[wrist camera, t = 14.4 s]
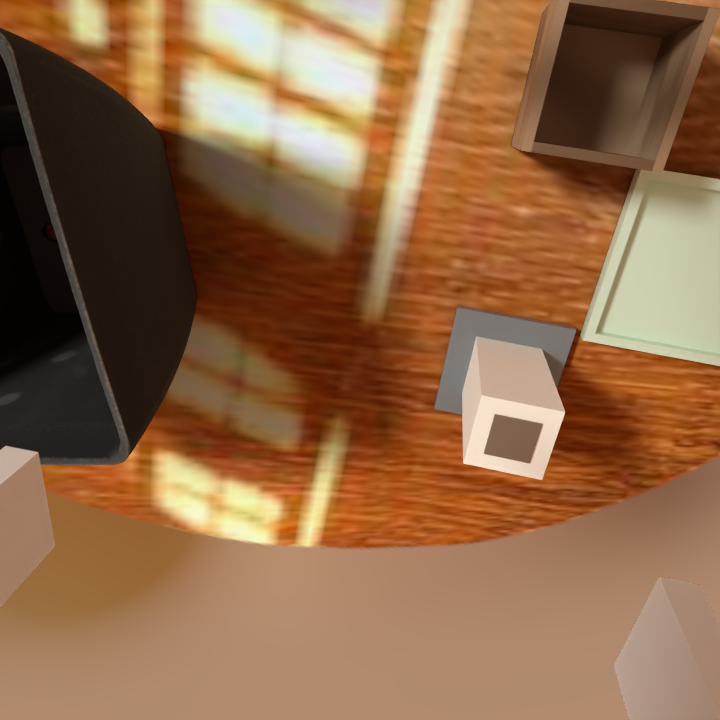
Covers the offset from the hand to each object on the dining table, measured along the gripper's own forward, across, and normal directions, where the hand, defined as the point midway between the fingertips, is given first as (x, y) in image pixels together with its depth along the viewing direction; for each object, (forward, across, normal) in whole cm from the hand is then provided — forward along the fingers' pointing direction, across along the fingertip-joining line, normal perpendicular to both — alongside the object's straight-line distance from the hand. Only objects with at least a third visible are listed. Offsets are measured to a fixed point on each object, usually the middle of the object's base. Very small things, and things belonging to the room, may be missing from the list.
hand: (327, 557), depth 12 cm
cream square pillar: (+27, +8, -8) cm, 29 cm away
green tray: (+28, +18, +1) cm, 33 cm away
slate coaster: (+28, +8, -8) cm, 30 cm away
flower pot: (+28, -22, -2) cm, 36 cm away
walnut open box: (+28, +8, +10) cm, 31 cm away
